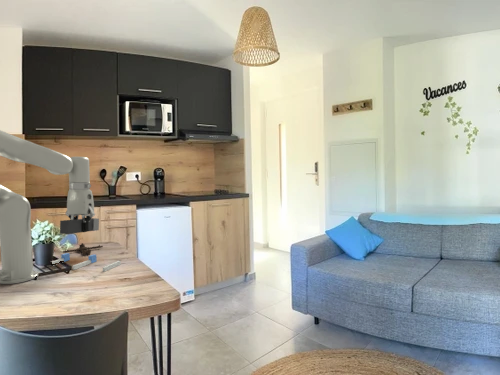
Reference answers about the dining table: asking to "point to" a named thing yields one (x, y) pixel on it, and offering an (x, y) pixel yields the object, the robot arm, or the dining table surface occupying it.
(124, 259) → the dining table surface
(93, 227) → the dark grey rectangular block
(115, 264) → the white blue-tipped sticks
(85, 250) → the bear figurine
